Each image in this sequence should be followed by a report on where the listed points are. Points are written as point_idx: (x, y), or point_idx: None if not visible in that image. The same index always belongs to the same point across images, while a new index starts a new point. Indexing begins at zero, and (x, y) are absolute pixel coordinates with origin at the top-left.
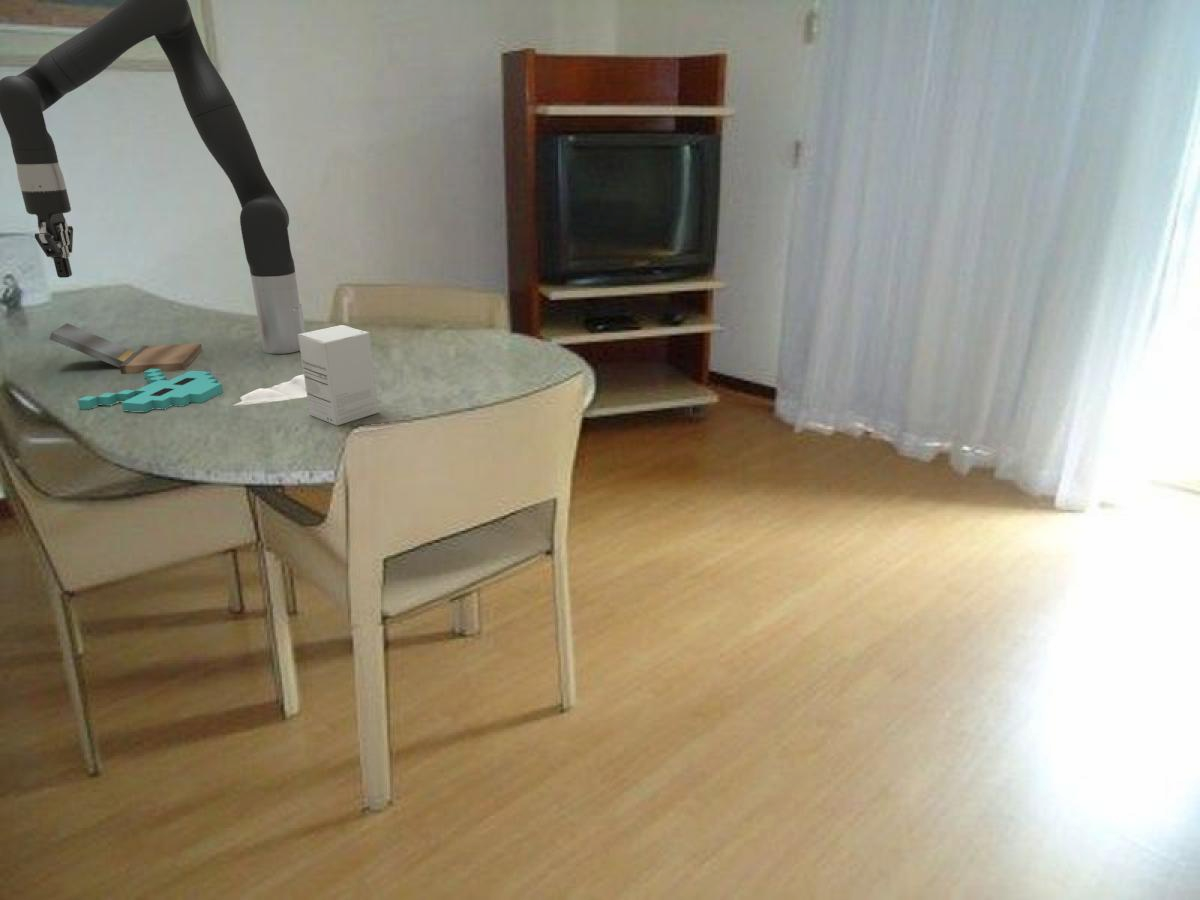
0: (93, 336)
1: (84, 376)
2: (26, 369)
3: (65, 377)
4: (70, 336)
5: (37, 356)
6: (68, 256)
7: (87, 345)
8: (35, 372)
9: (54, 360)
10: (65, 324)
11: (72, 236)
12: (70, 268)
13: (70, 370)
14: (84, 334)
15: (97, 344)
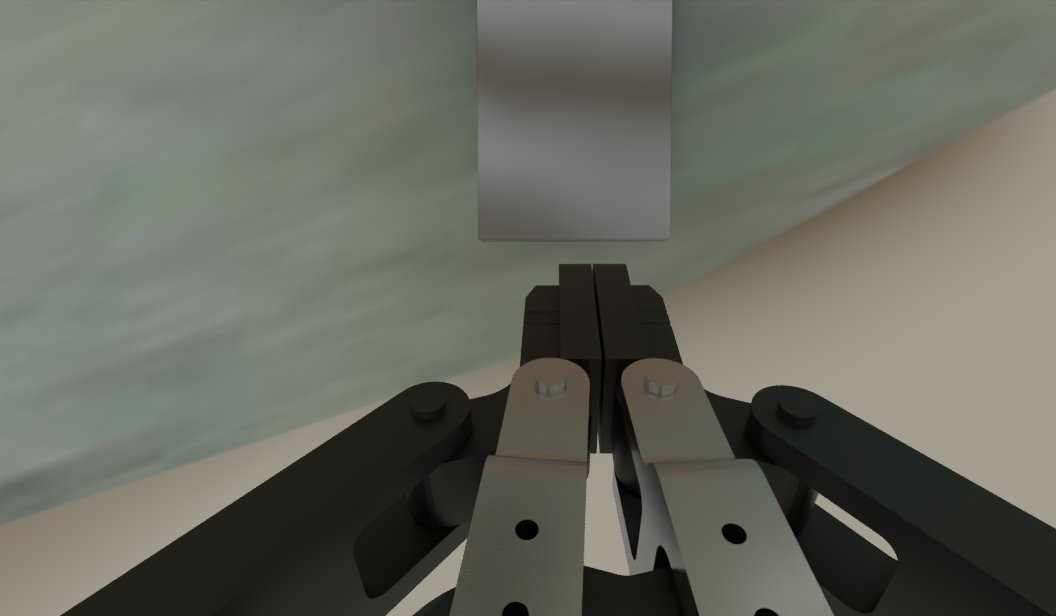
0: (508, 101)
1: (727, 60)
2: None
3: (715, 133)
4: (628, 167)
5: (401, 325)
6: (559, 363)
7: (652, 78)
8: (610, 261)
9: (459, 257)
10: (504, 237)
11: (182, 547)
12: (569, 291)
13: None
14: (531, 136)
15: (589, 52)
